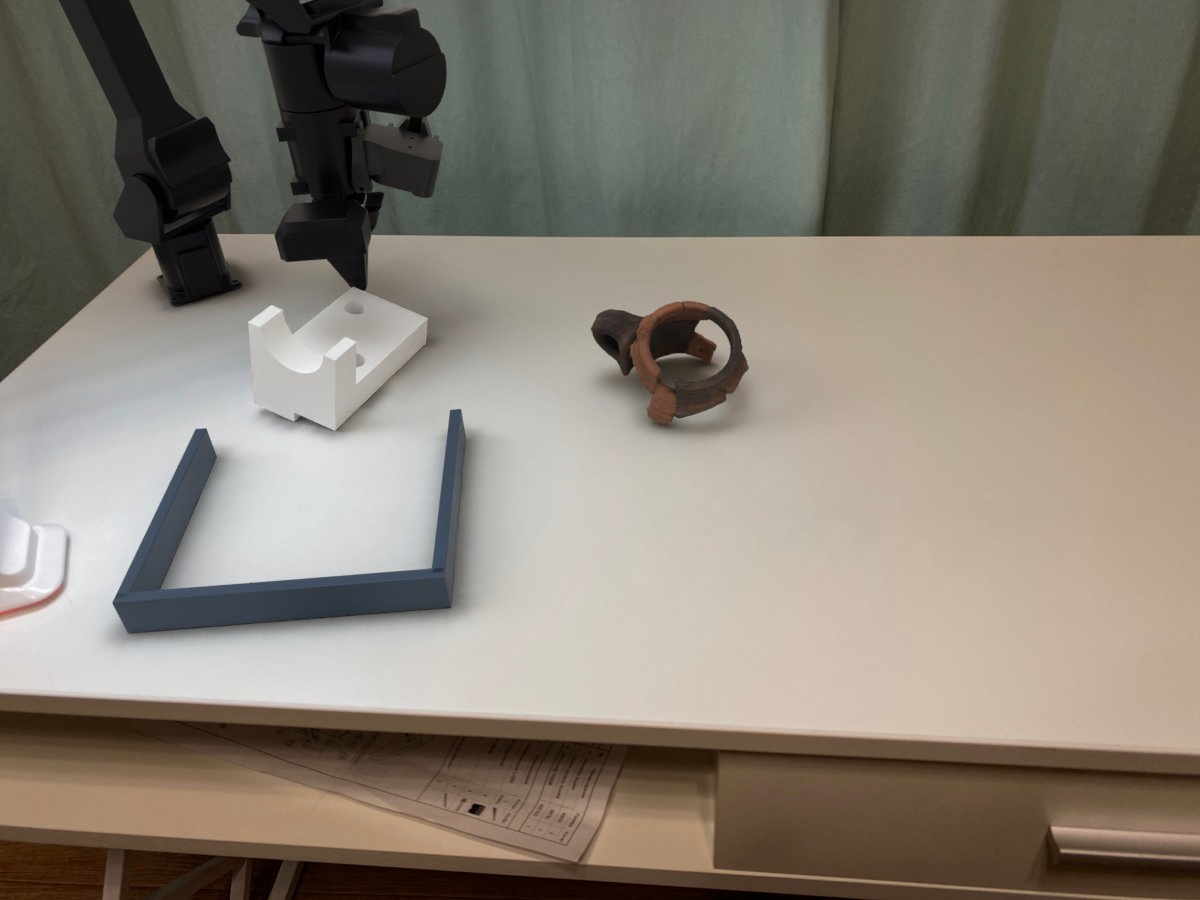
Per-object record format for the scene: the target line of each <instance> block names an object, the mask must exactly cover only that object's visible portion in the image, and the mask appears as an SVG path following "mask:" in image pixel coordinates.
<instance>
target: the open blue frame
mask: <svg viewBox="0 0 1200 900" xmlns="http://www.w3.org/2000/svg"><path fill="white" fill-rule="evenodd" d="M210 437H211V436H210V433H209V431H208V429H207V428H206V427H204V428H203V427H202V428H195V429H194V431H193V434H192V436H191V437H190V439H189V442H188V444H187V446H186V448H185V450H184V453H183V454H182V456H181V459H180V460H179V463H178V465H177V466H176V469H175V471H174V473H173V475H172V477H171V480H170V482H169V484H168V485H167V487H166V490H165V492H164V494H163V496H162V498H161V500H160V501H159V504H158V506H157V509H156V511H155V513H154V515H153V517H152V519H151V522H150V523H149V525H148V527H147V530H146V532H145V533H144V536H143V538H142V539H141V542H140V543H139V546H138V548H137V550H136V552H135V554H134V556H133V559H132V561H131V562H130V565H129V567H128V568H127V571H126V573H125V575H124V578H123V579H122V581H121V583H120V586H119V587H118V590H117V592H116V594H115V596H114V598H113V600H112V602H111V603H112V607H113V608H114V610H115V612H116V614H117V615H118V617H119V619H120V621H121V623H122V626H123V627H124V629H125V631H126V633H128V634H129V633H141V632H142V633H143V632H154V631H156V632H157V631H167V630H168V631H169V630H180V629H182V630H183V629H193V628H205V627H207V628H208V627H218V626H230V625H242V624H255V623H268V622H281V621H294V620H306V619H318V618H331V617H344V616H345V617H346V616H357V615H368V614H380V613H382V614H383V613H395V612H406V611H407V612H408V611H419V610H433V609H444V608H445V609H446V608H451V607H452V600H453V599H452V597H453V588H454V576H455V575H454V574H455V566H456V565H455V564H456V554H457V542H458V530H459V518H460V507H461V497H462V484H463V472H464V462H465V451H466V450H465V449H466V438H467V436H466V429H465V424H464V418H463V412H462V408H455V409H454V408H453V409H450V410H449V417H448V424H447V434H446V441H445V442H446V443H445V452H444V458H443V459H444V460H443V468H442V477H441V486H440V495H439V501H438V502H439V504H438V513H437V520H436V521H437V523H436V531H435V539H434V546H433V556H432V563H431V564H432V565H431V568H420V569H409V570H407V569H406V570H395V571H383V572H369V573H358V574H357V573H356V574H343V575H332V576H330V575H329V576H320V577H306V578H296V579H295V578H294V579H281V580H279V579H278V580H271V581H270V580H267V581H256V582H255V581H254V582H243V583H229V584H228V583H227V584H218V585H217V584H216V585H205V586H192V587H191V586H190V587H180V588H179V587H178V588H166V589H160V588H161V586H162V583H163V581H164V579H165V576H166V574H167V572H168V570H169V567H170V565H171V563H172V560H173V558H174V556H175V553H176V551H177V549H178V547H179V544H180V543H181V539H182V537H183V535H184V533H185V531H186V528H187V525H188V523H189V521H190V518H191V516H192V514H193V512H194V510H195V507H196V505H197V502H198V500H199V498H200V496H201V494H202V491H203V489H204V486H205V484H206V482H207V479H208V478H209V475H210V473H211V470H212V468H213V466H214V463H215V460H216V458H217V456H218V455H217V453H216V450H215V448H214V445H213V442H212V439H211V438H210Z"/></svg>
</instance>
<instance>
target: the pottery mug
mask: <svg viewBox="0 0 1200 900" xmlns="http://www.w3.org/2000/svg"><path fill="white" fill-rule="evenodd" d="M701 321H711V322H713V324H715V325H717V326H718V328H720V329H721V330H722V331H723V333H724V334H725V336H726V338H727V341H728V343H729V345H730V347H729V350H730V351H729V357H728V360H727V362H726V364H725V365H724V366H723V367H722V368H721V369H720V370H719V371H718V372H717V373H715V374H713V375H711V376H709V377H706V378H702V379H699V380H697V379H696V380H688V379H687V380H685V379H680V378H674V386H675V388H673V387H671V386H670V385H668V384H665V383H664V382H663V381H662V380H661V377H662V372H663V370H662V369H661V367H660V366H659V365H658V363H657V362H656V360H658V359H660V358H663V357H668V356H671V355H674V354H685V355H689V356H692V357H693V358H697V359H700V360H701V361H703V362H705V363H708V364H709V363H711V362H712V359H713V357H714V353H715V351H716V350H717V347H718V346H717V343H716V342H714V341H713V340H710V339H708V338H707V337H705V336H704V335H702V334H701V333H699V332H697V331H696V328H697V327H698V325H699V324H700V322H701ZM590 332H591V334H592V337H593V339H594V341H595V342H596V344H597V345H598V346H599V347H600V348H601V349H602V351H604V353H605V354H607V355H608V356H610V357H611V358H612V359H613V360H614V361H615V362H616V363H617V365H618V366H619V368H620V372H621V373H622V375H623V377H628V376H630V373H631V371H632V370H633V369H635V371H636V373H637V375H638V378H639V380H640V382H641V383H642V385H643V387H645V389H646V390H647V391H648V392H649V393H650V394H651V395H652V397H651V399H650V403H649V405H648V406H647V408H646V409H645V410H646V415H647V417H648V418H649V419H651V420H653V421H655V422H657V423H659V424H661V425H664V426H665V425H667V424H669V423H670V422H672V421H673V418H674V417H675V418H676V419H684V418H687V417H691V416H695V415H697V414H700V413H703V412H705V411H706V412H707V411H709V410H710V409H713V408H716V407H717V406H719V405H721V404H723V403H724V402H726V401H727V394H733V393H734V392H735V391H736V389H737V388H738V386H739V384H740V382H741V381H742V378H743V377H744V375H745V374H746V372H748V371H749V369H750V367H749V364H748V361H747V358H746V356H745V354H744V353H743V343H742V337H741V334H740V331H739V329H738V327H737V324H736V323H735V322H734V320H733V319H732V318H730V316H728V315H727V314H726V313H725V312H724V311H722V310H721V309H718V308H717V307H715V306H710V305H708V304H706V303H703V302H699V301H694V300H693V301H692V300H690V301H689V300H684V301H683V300H682V301H673V302H670V303H667V304H664V305H662V306H660V307H659V308H657V309H655V310H654V311H653V312H651V313H650V314H648V315H645V316H641V315H636V314H633V313H632V312H628V311H626V310H624V309H614V308H609V309H605V310H602V311H601V312H599V313H598V314H597V315H596V316H595V320H594V321H593V323H592V325H591V327H590Z"/></svg>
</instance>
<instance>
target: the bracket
mask: <svg viewBox="0 0 1200 900" xmlns="http://www.w3.org/2000/svg"><path fill="white" fill-rule="evenodd" d="M284 315H285V314H284V309H282V308H280V307H278V306H276V305H273V304H271V305H270V306H268V307H266V308H265V309H264V310H262V311H261V312H260V313H258V314H257V315H255V316H254V317H253V318H252V319H250V320H249V321H247V326H248V339H249V355H250V368H251V382H252V383H251V385H252V397H253V404H254V405H256V406H258V407H260V408H262V409H265V410H267V411H270V412H271V413H274V414H276V415H279V416H281V417H282V418H284V419H287V420H289V421H292V422H295V421H297V420H298V419H299V418H300V417H303V418H306V419H308V420H310V421H312V422H314V423H317V424H319V425H321V426H323V427H326V428H327V429H330V430H331V431H334V432H336V431H337V429H339V428H340V427H341V426H342V425H343V424H344V423H345V422H346V421H347V420H348V419H349V418H350V417H351V416H353V414H354V413H355V412H356V411H358V410H359V409H360V408H361V407H362V406H363V405H364V404H365V403H366V402H367V401H368V400H369V399H370V398H371V397H372V396H373V395H374V394H375V393H376V392H377V391H378V390H379V389H380V388H381V387H383V386H384V384H385V383H387V382H388V381H389V380H390V379H391V378H393V376H394V375H395V374H396V373H397V372H398V371H399V370H400V369H401V368H402V367H403V366H404V365H405V364H406V363H408V362H409V361H410V360H411V359H412V357H414V356H415V355H416V354H417V353H418V352H419V351H420V350H421V349H422V348H423V347H424V346H425V345H426V344H427V335H428V325H429V324H428V323H429V318H428V317H425V316H424V315H421V314H419V313H417V312H414V311H412V310H410V309H407V308H406V307H402V306H400V305H397V304H395V303H393V302H391V301H388V300H386V299H384V298H381V297H378V296H376V295H374V294H371V293H369V292H366V290H365V291H362V290H360V289H358V288H355V287H352V288H351V287H350V288H349V289H348V290H346V291H345V292H344V293H343V294H342V295H340V296H339V297H338V298H336V299H335V300H334V301H333V302H331V303H330V304H329V305H327V306H326V307H325V308H324V309H323V310H321V311H320V312H319V313H317V314H316V315H315V316H314V317H312V318H311V319H310V320H309V321H307V322H306V323H305V324H303V325H302V326H301V327H299V328H298V329H297V330H296V331H294V332H293V333H292V331H291V329H290V328H289V327H288V324H287V322H286V320H285V319H286V318H285V316H284Z"/></svg>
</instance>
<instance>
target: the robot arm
mask: <svg viewBox="0 0 1200 900" xmlns="http://www.w3.org/2000/svg"><path fill="white" fill-rule="evenodd" d="M244 1H245V2H246V3H248V4H249V5H248V8H247V11H246V12H245V13H244V15H243V16H242V18H240V20H239V21H238V23H237V24H236V26H235V31H236V33H237V35H238V36H241V37H249V38H258V39H260V42H261V46H262V49H263V53H264V57H265V62H266V64H267V69H268V73H269V77H270V81H271V85H272V89H273V92H274V97H275V99H276V104H277V108H278V112H279V117H280V120H279V122H278V124H277V126H276V127H275V132H276V135H277V139H278V143H282V142H283V143H284V142H286V143H287V147H288V151H289V155H290V159H291V163H292V167H293V170H294V173H293V175H292V177H291V180H290V182H289V185H290V188H291V193H292V196H305V195H310V198H311V199H310V202H299V203H298V202H297V203H296V202H295V203H292V204H291V205H290V207H289V208H288V209H287V211H286V212H285V213H284V214H283V216H282V219H281V220H280V223H279V224H278V227H277V229H276V231H275V234H274V235H273V237H274V241H275V243H276V247H277V250H278V253H279V257H280V260H281V261H284V262H286V263H294V262H307V261H309V262H310V261H321V260H326V261H327V262H328V263H329V264H330V265H331V266H332V267H333V269H334V270H335V271H336V272H337V273H338V274H339V276H340V277H341V278H342V279H343V280H344V282H345V283H346V284H347V285H348V286H349V288H350V289H351V288H352V287H355V288H358V289H360V290H362V291H365V292H366V290H367V289H368V285H369V284H368V282H369V277H368V276H369V247H370V244H371V241H372V232H373V231H375V229H376V227H377V224H378V220H379V217H380V213H381V212H380V210H381V209H382V206H383V202H384V199H385V192H383V191H373V189H374V185H373V182H374V183H376V184H378V185H381V186H384V187H389V188H391V189H396V190H399V191H404V192H408V193H411V194H412V195H413V196H414V197H417V198H421V199H422V198H423V199H429V198H432V197H433V196H434V192H435V189H436V184H437V179H438V174H439V171H440V169H439V168H440V164H441V159H442V154H443V148H444V143H443V142H442V141H441V140H440V135H437V134H434V135H433V133H432V130H431V127H430V122H429V120H428V117H429V116H431V115H432V114H433V113H434V112H435V111H436V110H437V108H438V107H439V105H440V104H441V102H442V99H443V97H444V94H445V90H446V86H447V75H448V70H447V69H448V68H447V60H446V55H445V53H444V52H443V51H442V50H441V46H440V44H439V42H438V40H437V39H436V37H435V36H434V35H433V34H432V33H431V32H430V30H428V29H426V28H424V27H422V26H421V19H420V13H419V11H418V9H417V8H416V7H408V6H407V7H405V6H400V7H396V8H383V6H384V0H309V1H306V2H303V3H301V2H300V1H301V0H244ZM58 2H59V4H60V6H61V8H62V10H63V13H64V15H65V16H66V19H67V20H68V23H69V25H70V26H71V28H72V30H73V33H74V35H75V37H76V39H77V41H78V43H79V45H80V47H81V49H82V51H83V54H84V55H85V57H86V60H87V62H88V63H89V66H90V67H91V70H92V72H93V73H94V76H95V77H96V81H98V84H99V86H100V88H101V90H102V92H103V94H104V96H105V98H106V101H107V102H108V104H109V106H110V109H111V111H112V112H113V115H114V117H115V120H116V126H115V140H114V155H113V156H114V157H113V158H114V161H115V164H116V166H117V169H118V171H119V173H120V176H121V179H122V182H123V184H124V185H123V189H122V191H121V193H120V196H119V197H118V200H117V203H116V205H115V207H114V209H113V212H112V218H113V219H114V221H115V224H116V225H117V226H118V228H119V229H120V231H121V232H122V234H123V236H124V237H125V238H126V239H127V238H128V239H131V240H135V241H140V242H145V243H149V244H150V245H151V247H152V249H153V252H154V255H155V258H156V261H157V263H158V266H159V269H160V271H161V274H159V275H157V276H156V280H157V283H158V285H159V287H160V288H161V290H162V292H163V293H164V295H165V297H166V299H167V300H168V302H169V303H170V305H171V306H178V305H182V304H185V303H189V302H192V301H195V300H198V299H199V300H200V299H203V298H205V297H210V296H212V295H216V294H219V293H223V292H227V291H230V290H234V289H237V288H240V287H241V286H242V285H243V283H242V280H241V278H240V277H239V276H238V274H237V273H236V272H235V270H234V269H233V268H232V266H231V265H230V264H229V263H228V261H227V259H226V258H225V253H224V251H223V248H222V245H221V242H220V238H219V235H218V232H217V229H216V225H215V222H214V219H213V218H214V217H216V216H218V215H220V214H222V213H224V212H228V211H230V210H231V209H232V192H231V191H232V190H231V188H232V187H231V185H232V183H233V174H232V171H231V167H230V165H229V163H231V162H232V159H231V157H230V156H229V154H228V153H227V152H226V151H225V149H224V147H223V144H222V143H221V141H220V138H219V134H218V131H217V129H216V126H215V124H214V122H213V121H212V120H211V119H210V118H209V117H208V116H206V115H204V116H202V117H199V118H197V117H196V116H195V115H193V114H192V113H191V112H190V111H189V110H188V109H186V107H184V106H183V105H182V104H180V103H179V102H178V101H177V99H176V98H175V96H174V94H173V92H172V90H171V86H170V85H169V83H168V81H167V78H166V76H165V74H164V72H163V70H162V67H161V65H160V62H159V61H158V59H157V56H156V54H155V52H154V49H153V48H152V45H151V43H150V41H149V38H148V37H147V34H146V32H145V30H144V28H143V25H142V23H141V20H140V19H139V16H138V15H137V11H135V7H134V6H133V4H132V2H131V0H58ZM370 112H375V113H382V114H388V115H389V114H390V115H396V116H397V115H398V116H403V117H402V118H401V119H400V120H399V122H398V123H397V124H396V125H395V124H394V123H392V122H388V124H387V125H383V124H378V123H374V122H372V119H371V115H370Z"/></svg>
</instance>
